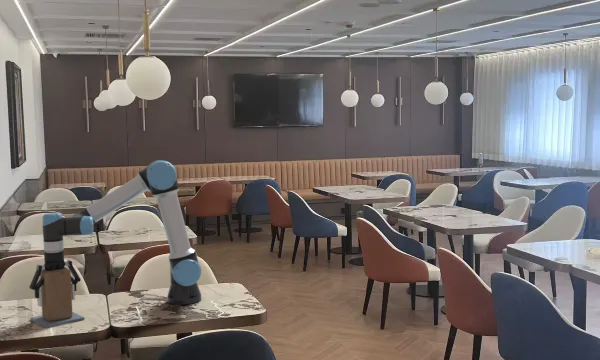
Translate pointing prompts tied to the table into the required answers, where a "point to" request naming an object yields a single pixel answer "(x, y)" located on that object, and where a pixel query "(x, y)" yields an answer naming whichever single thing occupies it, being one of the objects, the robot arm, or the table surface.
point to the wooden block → (56, 294)
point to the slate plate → (47, 324)
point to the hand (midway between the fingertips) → (56, 302)
